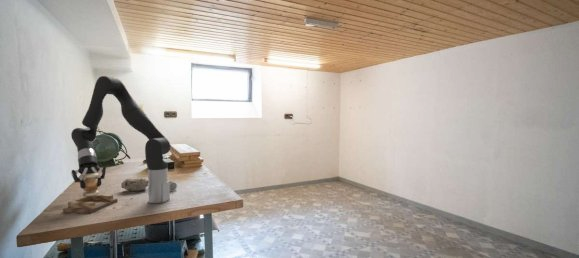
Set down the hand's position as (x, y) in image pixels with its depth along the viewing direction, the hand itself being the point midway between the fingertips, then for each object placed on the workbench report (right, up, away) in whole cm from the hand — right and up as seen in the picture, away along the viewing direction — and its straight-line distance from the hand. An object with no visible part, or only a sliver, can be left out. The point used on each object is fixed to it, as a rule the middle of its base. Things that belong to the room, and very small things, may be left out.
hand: (91, 186), depth 124 cm
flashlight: (+20, -9, +33) cm, 40 cm away
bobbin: (-1, -4, +1) cm, 5 cm away
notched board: (-1, -10, +2) cm, 10 cm away
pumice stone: (+3, -9, +29) cm, 31 cm away
